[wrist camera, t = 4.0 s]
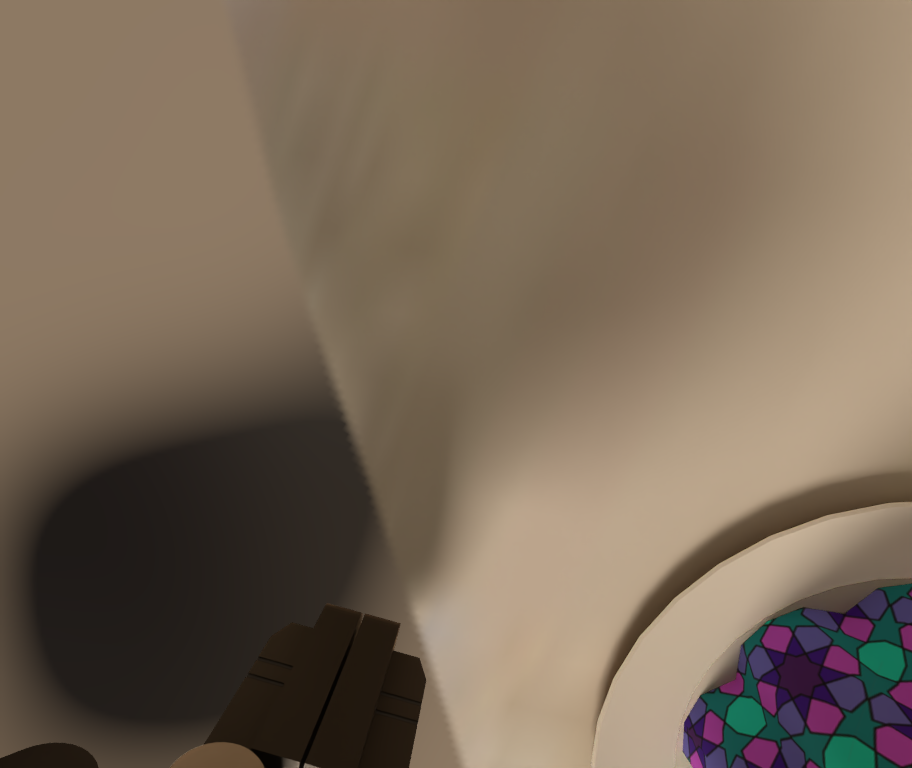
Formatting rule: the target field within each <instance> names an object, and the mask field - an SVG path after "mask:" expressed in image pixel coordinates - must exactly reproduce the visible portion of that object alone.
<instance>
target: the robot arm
mask: <svg viewBox="0 0 912 768" xmlns="http://www.w3.org/2000/svg"><path fill="white" fill-rule="evenodd" d="M362 615H363V614H362V613H361V612H357V611H354V610H350V609H347V608H343V607H339V606H336V605H332V604H329V603H327V604H326V605H325V607H324V609H323V611H322V613H321V614H320V616H319V619H318V620H317V622H316V624H315V626H314V628H310V627H307V626H303V625H300V624H296V623H293V622H292V623H290V624H289V625H287V626H286V627H284V628H283V629H281V630H280V631H278V632H277V633H275V634H274V635H272V636H271V637H270V639H269V641H268V642H267V644H266V645H265V647H264V648H263V650H262V652H261V653H260V655H259V657H258V660H256V661H255V663H254V665H253V666H252V668H251V669H250V671H249V673H248V676H247V677H245V679H244V681H243V682H242V684H241V686H240V687H239V689H238V690H237V692H236V694H235V695H234V697H233V699H232V700H231V702H230V703H229V705H228V706H227V708H226V710H225V711H224V713H223V715H222V716H221V718H220V719H219V721H218V723H217V724H216V726H215V727H214V729H213V731H212V732H211V734H210V736H209V737H208V739H207V740H206V742H205V743H204V745H202V746H198V747H196V748H194V749H192V750H190V751H188V752H187V753H185V754H183V755H182V756H181V757H180V758H179V759H177V760H176V761H175V762H174V763H173V764H172V766H171V767H170V768H409V764H410V759H411V754H412V749H413V744H414V739H415V734H416V729H417V723H418V719H419V714H420V709H421V703H422V699H423V694H424V689H425V683H426V678H425V674H424V671H423V668H422V665H421V661H420V658H418V657H414V656H411V655H407V654H403V653H400V652H396V651H394V647H395V643H396V640H397V636H398V632H399V628H400V623H397V622H393V621H390V620H386V619H383V618H379V617H375V616H372V615H369V614H365V615H364V618H363V620H362ZM361 621H362V623H361ZM0 768H98V765H97V762H96V760H95V759H94V757H93V756H92V755H91V754H90V753H89V752H88V751H86V750H85V749H83V748H81V747H78V746H76V745H73V744H66V743H47V744H41V745H36V746H32V747H29V748H26V749H24V750H21V751H18V752H16V753H13V754H10V755H8V756H5V757H3V758H0Z"/></svg>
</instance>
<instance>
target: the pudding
mask: <svg viewBox="0 0 912 768" xmlns="http://www.w3.org/2000/svg"><path fill="white" fill-rule="evenodd" d="M906 578H912V502H896V503H885V504H880V505H875V506H870V507H866V508H861V509H856V510H851V511H846V512H841V513H836V514H831V515H826V516H823V517H821V518H818V519H815V520H812V521H810V522H807V523H804V524H801V525H799V526H796V527H793V528H790V529H788V530H785V531H782V532H779V533H776V534H774V535H771V536H769V537H767V538H765V539H763V540H761V541H759V542H758V543H756V544H754V545H752V546H750V547H749V548H747V549H745V550H743V551H741V552H739V553H738V554H736V555H734V556H732V557H730V558H728V559H727V560H725V561H723V562H721V563H719V564H718V565H716V566H715V567H714V568H712V569H711V570H710V571H709V572H707V573H706V574H705V575H703V576H702V577H701V578H700V579H698V580H697V581H696V582H694V583H693V584H692V585H691V586H689V587H688V588H687V589H685V590H684V591H683V592H682V593H680V594H679V595H678V596H676V597H675V598H674V599H673V600H672V601H671V602H670V603H669V605H668V606H667V607H666V608H665V609H664V610H663V611H662V612H661V613H660V614H659V616H658V617H657V618H656V619H655V620H654V621H653V622H652V623H651V624H650V625H649V626H648V628H647V629H646V630H645V631H644V632H643V633H642V634H641V635H640V636H639V638H638V640H637V641H636V643H635V644H634V646H633V648H632V649H631V651H630V652H629V654H628V656H627V657H626V659H625V660H624V662H623V664H622V665H621V667H620V668H619V670H618V672H617V673H616V675H615V676H614V678H613V681H612V684H611V686H610V689H609V691H608V694H607V697H606V699H605V702H604V705H603V707H602V710H601V713H600V715H599V718H598V721H597V727H596V734H595V740H594V746H593V753H592V759H591V768H676V760H675V750H676V745H677V740H678V734H679V729H680V724H681V720H682V718H683V715H684V713H685V711H686V708H687V706H688V703H689V701H690V699H691V696H692V694H693V692H694V690H695V689H696V687H697V686H698V684H699V683H700V681H701V680H702V678H703V677H704V675H705V674H706V672H707V671H708V669H709V668H710V666H711V665H712V664H713V663H714V662H715V661H716V660H717V659H718V658H719V657H720V656H721V655H722V654H723V653H724V652H725V650H726V649H727V648H728V647H729V646H730V645H731V644H732V643H733V642H734V641H735V640H736V639H738V638H739V637H740V636H742V635H743V634H744V633H746V632H747V631H748V630H750V629H751V628H752V627H754V626H755V625H757V624H758V623H759V622H761V621H762V620H763V619H765V618H766V617H768V616H770V615H772V614H774V613H776V612H778V611H780V610H782V609H784V608H786V607H787V606H789V605H791V604H793V603H795V602H797V601H799V600H802V599H805V598H807V597H810V596H813V595H816V594H819V593H822V592H825V591H828V590H831V589H834V588H836V587H841V586H846V585H852V584H857V583H862V582H868V581H873V580H881V579H906ZM683 752H684V754H685V756H686V757H687V759H688V760H689V762H690V764H691V765H692V767H693V768H912V584H905V585H898V586H890V587H883V588H878V589H876V590H875V591H874V592H872V593H871V594H870V595H868V596H867V597H866V598H865V599H863V600H862V601H861V602H859V603H858V604H857V605H855V606H854V607H853V608H851V609H850V610H849V611H848V612H846V613H845V614H842V613H836V612H829V611H823V610H816V609H810V608H804V607H803V608H800V609H798V610H795V611H792V612H790V613H787V614H785V615H782V616H780V617H777V618H775V619H772V620H769V621H767V622H766V623H765V624H764V625H763V626H762V627H761V628H760V629H758V630H757V631H756V632H755V633H754V634H753V635H752V636H751V637H750V638H749V639H748V640H747V641H745V642H744V643H743V644H742V645H741V650H740V656H739V662H738V668H737V674H736V679H735V680H733V681H731V682H729V683H727V684H725V685H722V686H720V687H718V688H716V689H714V690H711V691H709V692H707V693H705V694H703V695H700V697H699V698H698V700H697V702H696V704H695V705H694V707H693V709H692V710H691V712H690V714H689V715H688V717H687V719H686V720H685V722H684V739H683Z"/></svg>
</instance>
